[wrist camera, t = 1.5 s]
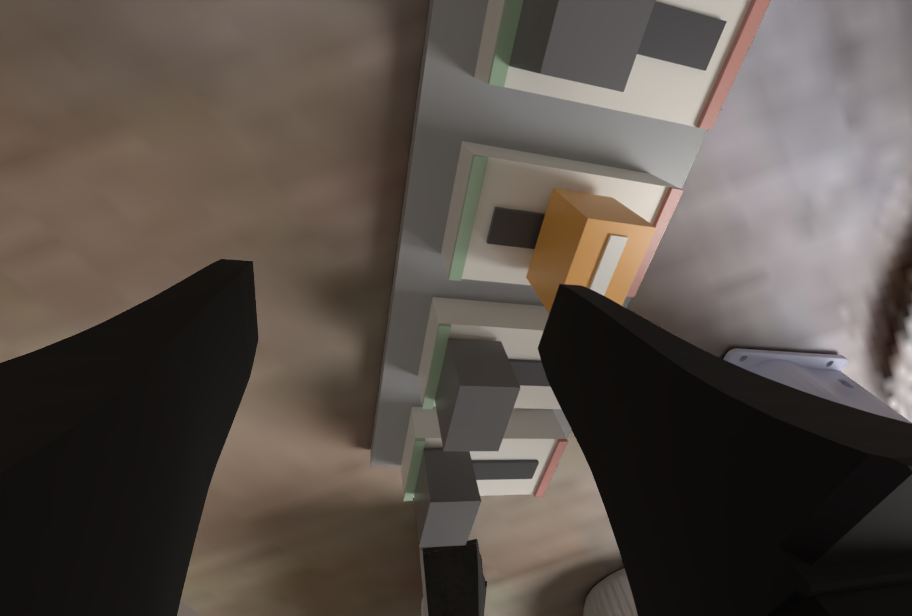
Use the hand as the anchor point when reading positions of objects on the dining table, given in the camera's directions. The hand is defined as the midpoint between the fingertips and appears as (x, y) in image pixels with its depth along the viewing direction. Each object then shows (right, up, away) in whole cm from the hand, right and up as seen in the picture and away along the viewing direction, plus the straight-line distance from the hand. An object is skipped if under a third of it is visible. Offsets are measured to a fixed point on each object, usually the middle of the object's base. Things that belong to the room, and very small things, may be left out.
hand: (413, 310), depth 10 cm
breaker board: (+4, +2, +11) cm, 12 cm away
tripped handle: (+5, +3, +6) cm, 9 cm away
